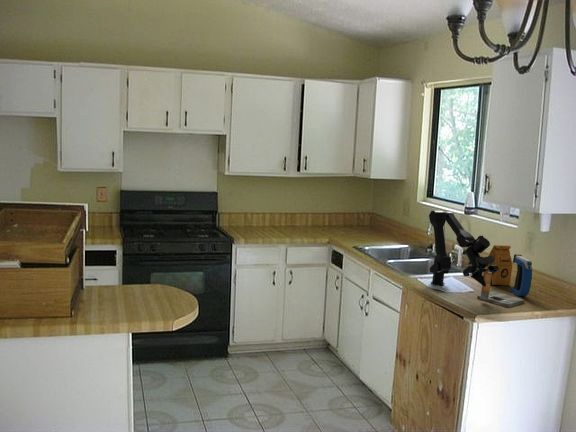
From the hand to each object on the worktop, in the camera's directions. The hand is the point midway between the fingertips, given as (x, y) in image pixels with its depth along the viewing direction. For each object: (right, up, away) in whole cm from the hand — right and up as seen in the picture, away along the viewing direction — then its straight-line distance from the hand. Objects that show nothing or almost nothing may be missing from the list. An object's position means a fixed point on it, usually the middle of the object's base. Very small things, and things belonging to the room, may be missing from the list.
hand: (488, 286), depth 280 cm
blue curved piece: (+24, -7, +25) cm, 35 cm away
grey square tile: (+9, -8, +10) cm, 16 cm away
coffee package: (+20, -4, +43) cm, 48 cm away
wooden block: (-1, -6, +2) cm, 7 cm away
